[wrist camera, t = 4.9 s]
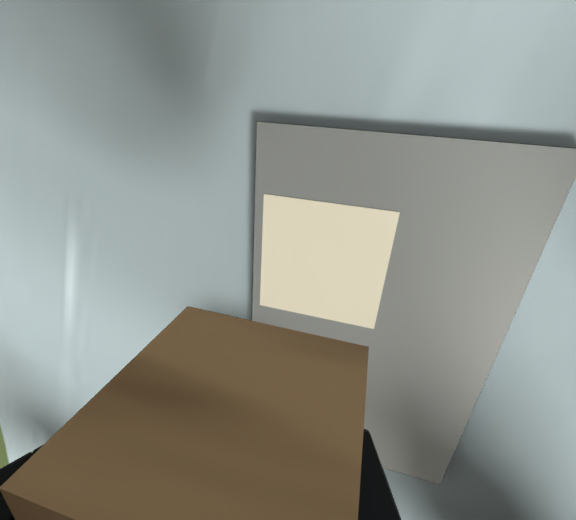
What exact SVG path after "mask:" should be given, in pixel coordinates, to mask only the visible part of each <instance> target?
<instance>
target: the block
mask: <svg viewBox="0 0 576 520" xmlns="http://www.w3.org/2000/svg"><path fill="white" fill-rule="evenodd" d="M368 354H369V347H368V346H363V345H359V344H354V343H350V342H345V341H341V340H336V339H332V338H327V337H323V336H318V335H314V334H309V333H305V332H300V331H296V330H291V329H287V328H282V327H278V326H273V325H269V324H265V323H260V322H256V321H251V320H247V319H242V318H238V317H233V316H229V315H224V314H220V313H215V312H211V311H206V310H202V309H197V308H193V307H186V308H185V309H184V310H183V311H182V312H181V313H180V314H179V315H178V316H177V317H176V318H175V319H174V320H173V321H172V322H171V323H170V324H169V325H168V326H167V327H166V328H165V329H164V330H163V331H162V332H161V333H159V334H158V335H157V336H156V337H155V338H154V339H153V340H152V341H151V342H150V343H149V344H148V345H147V346H146V347H145V348H144V349H143V350H142V351H141V352H140V353H139V354H138V355H137V356H136V357H135V358H133V359H132V360H131V361H130V362H129V363H128V364H127V365H126V366H125V367H124V368H123V369H122V370H121V371H120V372H119V373H118V374H117V375H116V376H115V377H114V378H113V379H112V380H111V381H110V382H109V383H108V384H106V385H105V386H104V387H103V388H102V389H101V390H100V391H99V392H98V393H97V394H96V395H95V396H94V397H93V398H92V399H91V400H90V401H89V402H88V403H87V404H86V405H85V406H84V407H83V408H82V409H80V410H79V411H78V412H77V413H76V414H75V415H74V416H73V417H72V418H71V419H70V420H69V421H68V422H67V423H66V424H65V425H64V426H63V427H62V428H61V429H60V430H59V431H58V432H57V433H56V434H55V435H53V436H52V437H51V438H50V439H49V440H48V441H47V442H46V443H45V444H44V445H43V446H42V447H41V448H40V449H39V450H38V451H37V452H36V453H35V454H34V455H33V456H32V457H31V458H30V459H29V460H27V461H26V462H25V463H24V464H23V465H22V466H21V467H20V468H19V469H18V470H17V471H16V472H15V473H14V474H13V475H12V476H11V477H10V478H9V479H8V480H7V481H6V482H5V483H4V484H3V485H2V486H0V491H1V493H2V495H3V497H4V499H5V501H6V503H7V505H8V507H9V509H10V511H11V513H12V514H13V516H14V518H15V520H358V510H359V494H360V479H361V463H362V447H363V432H364V416H365V400H366V385H367V369H368Z"/></svg>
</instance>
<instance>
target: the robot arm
mask: <svg viewBox="0 0 576 520" xmlns="http://www.w3.org/2000/svg"><path fill="white" fill-rule="evenodd" d="M42 446H43V445H42ZM42 446H40V447H38V448H37V449H35V450H34V451H33V452H29V453H28V454H26V455H24V456H22V457H21V458H19V459H17V460H15V461H13V462H12V463H10V464H8V465H6V466H4V467H3V468H1V469H0V486H2V485H3V484H4V483H5V482H6V481H7V480H8V479H9V478H10V477H11V476H12V475H13V474H14V473H15V472H16V471H17V470H18V469H19V468H20V467H21V466H22V465H23V464H24V463H25V462H26V461H27V460H29V459H30V458H31V457H32V456H33V455H34V454H35V453H36V452H37V451H38V450H39V449H40V448H41V447H42ZM0 520H15V518H14V516H13V514H12V513H11V511H10V509H9V507H8V505H7V503H6V501H5V499H4V497H3V495H2V493H1V491H0ZM358 520H401V517H400V515H399V512H398V509H397V506H396V503H395V501H394V498H393V495H392V492H391V489H390V487H389V484H388V481H387V478H386V476H385V473H384V470H383V467H382V464H381V462H380V459H379V456H378V453H377V451H376V448H375V445H374V442H373V439H372V437H371V434H370V432H369V431H368V430H367V429H364V432H363V447H362V463H361V479H360V494H359V510H358Z"/></svg>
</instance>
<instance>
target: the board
mask: <svg viewBox="0 0 576 520" xmlns="http://www.w3.org/2000/svg"><path fill="white" fill-rule="evenodd" d="M575 177H576V148H566V147H554V146H543V145H531V144H519V143H507V142H495V141H483V140H471V139H459V138H447V137H435V136H424V135H412V134H400V133H388V132H376V131H364V130H352V129H340V128H328V127H316V126H305V125H293V124H281V123H269V122H257V136H256V178H255V220H254V261H253V303H252V321H256V322H260V323H265V324H269V325H273V326H278V327H282V328H287V329H291V330H296V331H300V332H305V333H309V334H314V335H318V336H323V337H327V338H332V339H336V340H341V341H345V342H350V343H354V344H359V345H363V346H368V347H369V354H368V369H367V385H366V400H365V416H364V429H367V430H368V431H369V432H370V434H371V437H372V439H373V442H374V445H375V448H376V451H377V453H378V456H379V459H380V462H381V464H382V467H383V468H386V469H389V470H393V471H396V472H399V473H403V474H406V475H410V476H413V477H416V478H420V479H423V480H426V481H430V482H433V483H436V484H440V483H441V481H442V479H443V476H444V474H445V472H446V470H447V467H448V465H449V463H450V460H451V458H452V456H453V454H454V451H455V449H456V447H457V445H458V442H459V440H460V438H461V435H462V433H463V431H464V429H465V426H466V424H467V422H468V420H469V417H470V415H471V413H472V411H473V408H474V406H475V404H476V401H477V399H478V397H479V395H480V392H481V390H482V388H483V386H484V383H485V381H486V379H487V376H488V374H489V372H490V370H491V367H492V365H493V363H494V361H495V358H496V356H497V354H498V352H499V349H500V347H501V345H502V342H503V340H504V338H505V336H506V333H507V331H508V329H509V327H510V324H511V322H512V320H513V318H514V315H515V313H516V311H517V308H518V306H519V304H520V302H521V299H522V297H523V295H524V293H525V290H526V288H527V286H528V283H529V281H530V279H531V277H532V274H533V272H534V270H535V268H536V265H537V263H538V261H539V259H540V256H541V254H542V252H543V249H544V247H545V245H546V243H547V240H548V238H549V236H550V234H551V231H552V229H553V227H554V224H555V222H556V220H557V218H558V215H559V213H560V211H561V209H562V206H563V204H564V202H565V200H566V197H567V195H568V193H569V190H570V188H571V186H572V184H573V181H574V179H575Z"/></svg>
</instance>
